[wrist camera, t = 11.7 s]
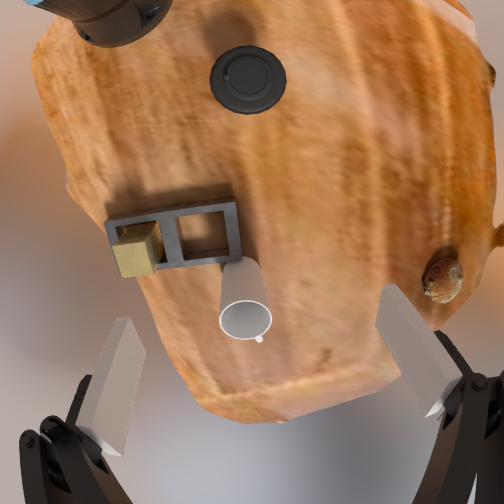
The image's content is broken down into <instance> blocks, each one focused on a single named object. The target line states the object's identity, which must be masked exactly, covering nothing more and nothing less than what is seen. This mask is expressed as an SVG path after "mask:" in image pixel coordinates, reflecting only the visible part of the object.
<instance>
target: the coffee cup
mask: <svg viewBox="0 0 504 504" xmlns="http://www.w3.org/2000/svg"><path fill="white" fill-rule="evenodd" d="M209 79H210V87H211V91H212V93H213V95H214V97H215V99H216V100H217V101H218V102H219V103H220V104H221V105H222V106H223V107H224V108H226V109H228V110H230V111H232V112H234V113H239V114H245V115H249V114H259V113H261V112H264V111H266V110H268V109H270V108H271V107H273V106H274V105H275V104H276V103H278V102H279V100H280V98H281V97H282V95H283V94H284V91H285V87H286V83H287V81H286V73H285V70H284V68H283V66H282V64H281V62H280V60H279V59H278V58H277V57H276V56H275V55H274V54H273V53H271V52H269V51H267V50H265V49H263V48H260V47H255V46H240V47H236V48H233V49H231V50H228V51H226V52H225V53H224V54H223V55H221V56H220V57H219V58H218V59H217V61H216V62H215V64H214V65H213V67H212V69H211V74H210V78H209Z"/></svg>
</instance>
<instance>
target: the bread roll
mask: <svg viewBox="0 0 504 504" xmlns="http://www.w3.org/2000/svg"><path fill="white" fill-rule="evenodd" d="M462 282H463V271H462V268H461V266H460V264H459V263H458V262H457V261H456V260H455V259H453V258H449V257H447V258H444V259H441V260H438V261H436V262H435V263H434V264H433V265H432V266H431V267H430V268H429V269H428V271H427V273H426V275H425V278H424V283H423V284H422V286H423V287H424V292H425V294H426V295H428V297H429V298H430V300H433V301H435V302H439V303H446V302H449V301H451V300H452V299H453V298H454V297H455V296H456V295H457V293H458V292H459V290H460V288H461V286H462Z"/></svg>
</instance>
